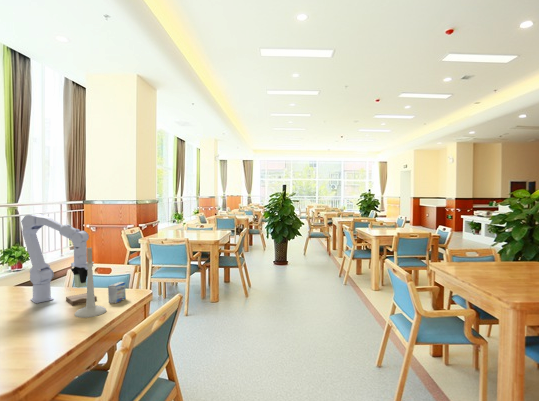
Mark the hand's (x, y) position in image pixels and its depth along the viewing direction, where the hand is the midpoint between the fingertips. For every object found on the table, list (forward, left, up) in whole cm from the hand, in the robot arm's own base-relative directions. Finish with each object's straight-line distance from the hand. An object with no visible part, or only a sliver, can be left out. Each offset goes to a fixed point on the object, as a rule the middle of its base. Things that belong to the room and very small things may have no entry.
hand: (80, 282), depth 178 cm
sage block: (0, 0, -2) cm, 2 cm away
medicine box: (+14, +12, -10) cm, 21 cm away
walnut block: (0, 0, -10) cm, 10 cm away
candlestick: (+23, -4, -10) cm, 25 cm away
